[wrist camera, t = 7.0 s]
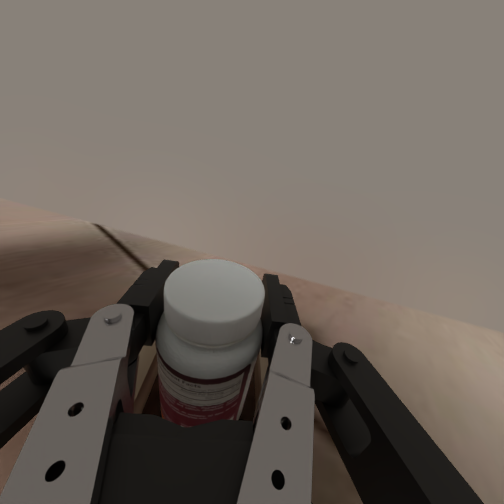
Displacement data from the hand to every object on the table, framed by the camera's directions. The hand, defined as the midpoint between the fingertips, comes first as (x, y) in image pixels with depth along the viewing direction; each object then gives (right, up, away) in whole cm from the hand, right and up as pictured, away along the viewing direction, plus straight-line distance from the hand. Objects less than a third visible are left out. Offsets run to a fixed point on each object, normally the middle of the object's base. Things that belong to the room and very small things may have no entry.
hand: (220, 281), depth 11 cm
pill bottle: (-1, -7, +1) cm, 7 cm away
